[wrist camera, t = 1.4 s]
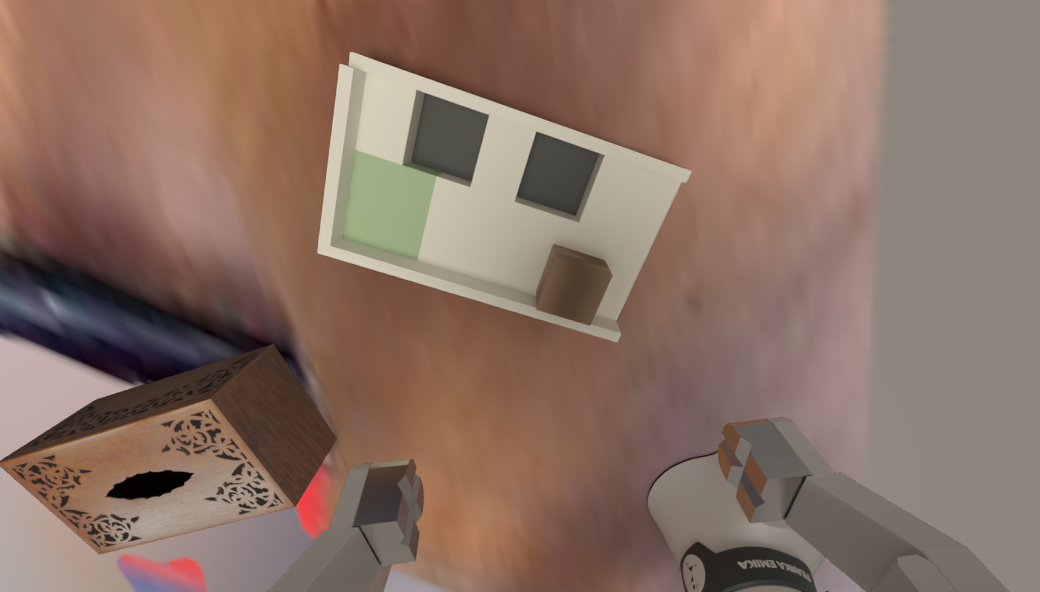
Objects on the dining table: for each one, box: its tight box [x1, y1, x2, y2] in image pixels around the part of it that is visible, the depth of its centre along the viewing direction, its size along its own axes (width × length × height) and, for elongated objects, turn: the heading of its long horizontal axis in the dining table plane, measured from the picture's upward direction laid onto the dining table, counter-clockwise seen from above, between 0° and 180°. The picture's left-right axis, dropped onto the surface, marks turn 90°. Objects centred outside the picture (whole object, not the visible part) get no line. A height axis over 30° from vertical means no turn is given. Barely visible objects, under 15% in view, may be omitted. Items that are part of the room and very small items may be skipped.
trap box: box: [317, 52, 692, 342], centre depth 36 cm, size 28×16×6 cm, turn 72°
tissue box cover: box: [0, 344, 337, 554], centre depth 46 cm, size 26×14×10 cm, turn 109°
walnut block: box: [536, 244, 613, 326], centre depth 36 cm, size 5×5×4 cm
